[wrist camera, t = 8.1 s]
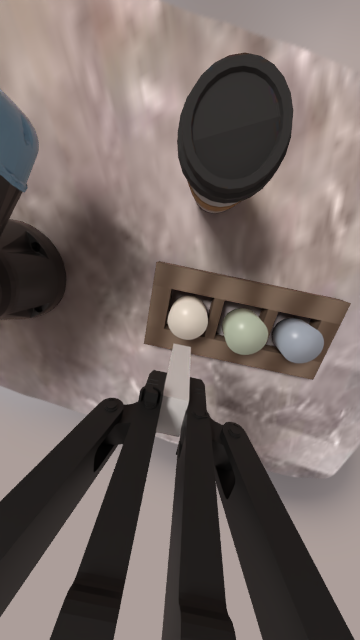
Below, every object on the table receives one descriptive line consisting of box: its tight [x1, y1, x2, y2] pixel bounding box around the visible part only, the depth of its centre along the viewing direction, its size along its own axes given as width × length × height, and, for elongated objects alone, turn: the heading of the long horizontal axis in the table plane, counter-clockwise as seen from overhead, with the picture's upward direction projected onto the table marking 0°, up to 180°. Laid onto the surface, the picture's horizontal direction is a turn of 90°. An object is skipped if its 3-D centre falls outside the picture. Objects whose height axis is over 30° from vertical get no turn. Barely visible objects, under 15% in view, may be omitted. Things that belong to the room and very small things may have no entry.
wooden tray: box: [144, 261, 351, 380], centre depth 33 cm, size 28×13×2 cm, turn 79°
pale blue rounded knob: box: [272, 317, 324, 363], centre depth 30 cm, size 6×6×4 cm
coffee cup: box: [177, 53, 293, 213], centre depth 21 cm, size 8×8×15 cm
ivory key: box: [168, 295, 208, 340], centre depth 30 cm, size 6×6×4 cm
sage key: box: [222, 308, 268, 355], centre depth 29 cm, size 6×6×4 cm
